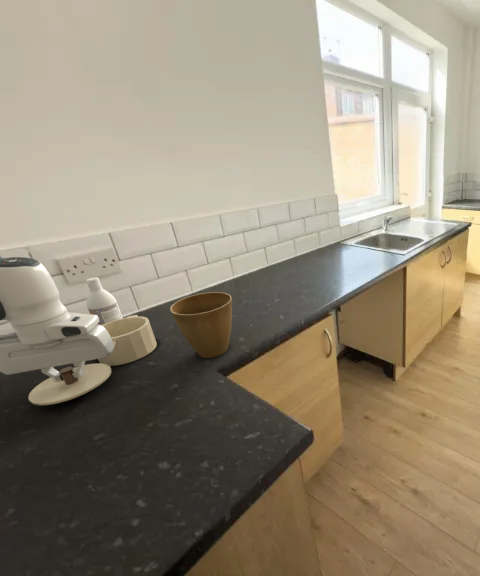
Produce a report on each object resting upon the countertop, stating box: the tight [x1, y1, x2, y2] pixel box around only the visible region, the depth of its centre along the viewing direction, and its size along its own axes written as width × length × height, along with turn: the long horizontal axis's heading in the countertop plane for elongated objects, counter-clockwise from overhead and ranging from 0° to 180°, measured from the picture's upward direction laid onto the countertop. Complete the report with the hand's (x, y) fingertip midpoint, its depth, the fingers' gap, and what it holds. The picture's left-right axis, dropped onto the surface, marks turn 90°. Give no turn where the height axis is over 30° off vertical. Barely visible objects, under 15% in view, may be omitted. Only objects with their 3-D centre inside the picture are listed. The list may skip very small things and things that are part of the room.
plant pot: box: [169, 291, 233, 359], centre depth 90 cm, size 15×15×16 cm
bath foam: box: [85, 276, 124, 325], centre depth 99 cm, size 7×7×20 cm
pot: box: [97, 314, 158, 367], centre depth 92 cm, size 14×19×8 cm
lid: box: [28, 362, 112, 406], centre depth 76 cm, size 15×15×5 cm
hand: (70, 378), depth 76 cm, fingers closed on lid, 2 cm apart
